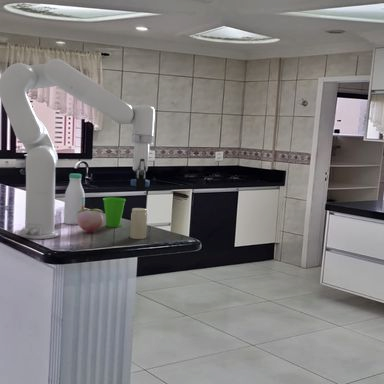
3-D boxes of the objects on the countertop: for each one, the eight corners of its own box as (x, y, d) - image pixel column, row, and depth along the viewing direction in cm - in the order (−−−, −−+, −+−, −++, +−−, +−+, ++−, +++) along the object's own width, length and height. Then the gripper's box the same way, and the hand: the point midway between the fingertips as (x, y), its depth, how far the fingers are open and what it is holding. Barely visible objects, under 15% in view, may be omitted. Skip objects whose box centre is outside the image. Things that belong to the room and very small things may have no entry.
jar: (143, 239, 205) (144, 210, 204) (127, 238, 206) (129, 209, 205) (148, 236, 211) (149, 208, 210) (132, 235, 212) (134, 207, 211)
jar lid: (147, 186, 203) (148, 181, 203) (128, 185, 203) (129, 180, 203) (150, 185, 210) (151, 180, 210) (132, 183, 210) (132, 178, 210)
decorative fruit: (99, 230, 217) (100, 204, 216) (104, 234, 210) (105, 207, 209) (74, 230, 213) (75, 204, 212) (78, 235, 206) (79, 207, 205)
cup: (117, 223, 234) (118, 197, 233) (129, 227, 228) (130, 200, 227) (97, 225, 228) (98, 197, 227) (109, 228, 222) (110, 201, 220)
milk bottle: (77, 225, 224) (79, 175, 222) (60, 223, 225) (61, 173, 223) (87, 222, 231) (89, 174, 229) (70, 220, 233) (71, 172, 231)
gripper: (130, 138, 212) (128, 185, 214) (133, 139, 196) (130, 191, 197) (151, 139, 214) (148, 186, 216) (154, 141, 197) (152, 192, 199)
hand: (139, 188), depth 207 cm, fingers closed on jar lid, 6 cm apart
